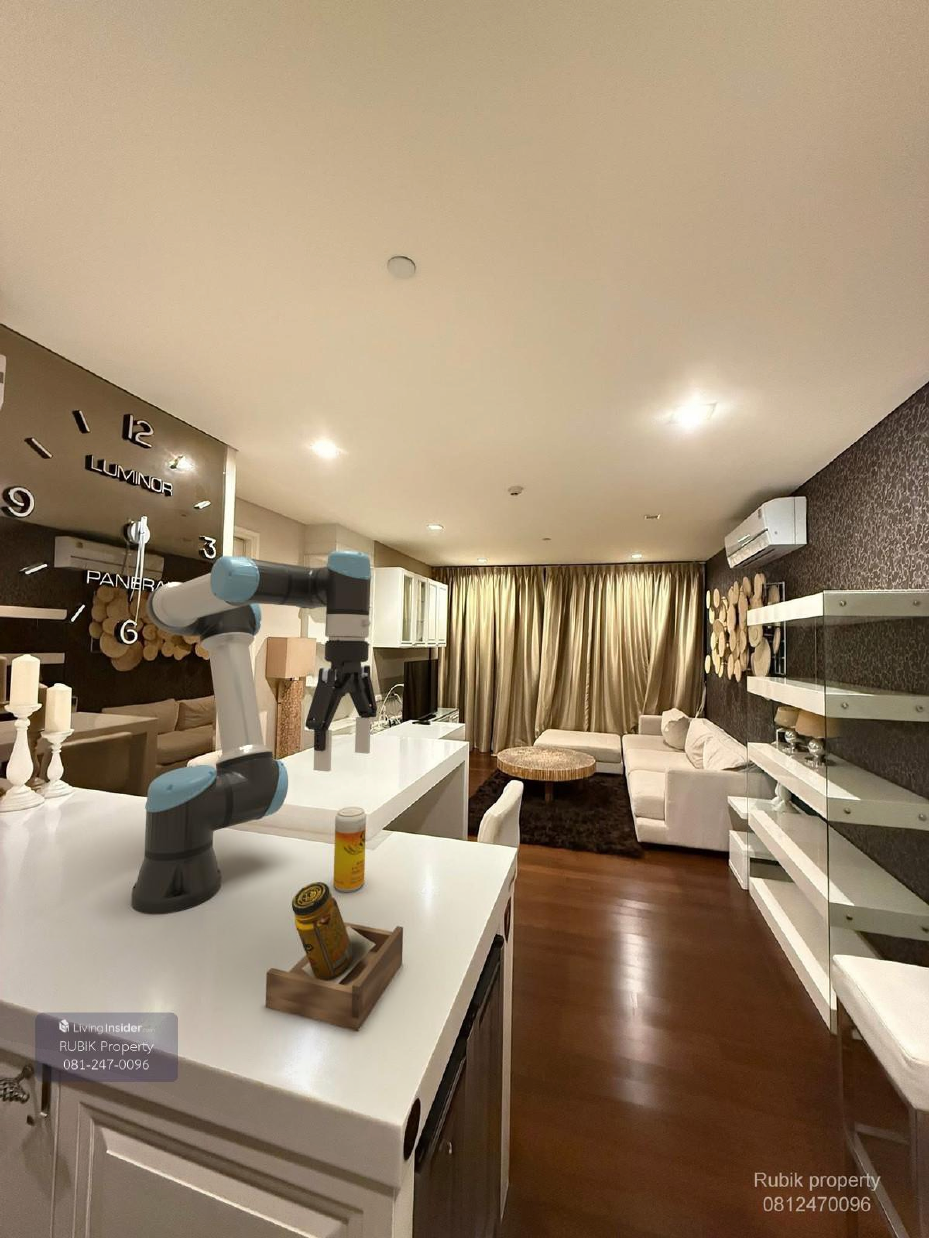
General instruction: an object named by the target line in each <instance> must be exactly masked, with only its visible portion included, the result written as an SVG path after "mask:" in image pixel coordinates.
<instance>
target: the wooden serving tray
mask: <svg viewBox="0 0 929 1238" xmlns="http://www.w3.org/2000/svg"><path fill="white" fill-rule="evenodd" d="M343 922H344V925H345V927H347V926H349V927H351V928H352V929H353V930H355V931H356V932H358V933H359V934H360V935H362V936H363V937H365V938H366V939H368V940H369V941H371V942H373V943H374V944H376V945H375V946H374V947H373V948H372V949H370V951H369V952H368V953H367V954H366V955H365V956H364V957H363V958H362V959H361V960H360V961H359V962H358V963H357V964H356V966H355V967H354V968H353V969H352V970H351V971H350V972H349V973H348V974H347V975H346V976H345V977H344V978H343V979H342V980H341V981H340V983H338V984H337V983H333V982H329V981H324V980H320V979H316V978H312V977H310V976H309V975H308V974H307V973H306V972H305V971H303V970H302V968H303V967H304V966H306V965H307V964H308V963H309V961H308V958H307V955H306V954H304V955H303V956H302V958H301V959H300V960H299V961H298V962H297V963H296V964H295V965H294V966H293V967H291V969H289V971H286V970H282V969H279V968H274V967H271V968H269V969H268V970H267V971H266V976H265V977H266V979H265V980H266V984H265V985H266V986H265V1005H264V1006H265V1008H270V1009H273V1010H277V1011H281V1012H284V1013H288V1014H292V1015H295V1016H296V1015H297V1016H299V1017H303V1018H306V1019H307V1018H308V1019H311V1020H314V1021H317V1022H322V1023H325V1024H329V1025H330V1024H331V1025H334V1026H338V1027H341V1028H345V1029H348V1030H352V1031H356V1032H359V1031H360V1029H361V1027H362V1026H363V1025H364V1024H365V1021H366V1020H367V1018H368V1017H369V1015H370V1014H371V1012H372V1010H373V1009H374V1007H376V1004H377V1003H378V1002H379V1000H380V998H381V997H382V995H383V993H384V992H385V990H386V989H387V987H388V986H389V985H390V983H391V982H392V980H393V979H394V976H395V975H396V974H397V973H398V971H399V969H400V967H401V966H402V964H403V951H404V950H403V947H404V946H403V945H404V943H403V942H404V939H403V938H404V926H398V925H397V926H396V927H395V928H394V929H393V931H391V930H386V929H381V928H376V927H371V926H365V925H361V924H356V923H355V924H354V923H351V922H350V923H349V922H346V921H343Z"/></svg>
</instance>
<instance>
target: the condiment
mask: <svg viewBox="0 0 929 1238" xmlns="http://www.w3.org/2000/svg"><path fill="white" fill-rule="evenodd" d="M337 901H338V900H336V898H335V897H333V894H332V893H331V891H330V887H329V886H328V885H327V884H326V883H324V882H321V881H317V882H312V883H309V884H307V885H305V886H304V887H302V888H301V889H300V890H298V892H296V894H295V896H294V897H293V899H292V901H291V909H292V911H293V913H294V918H295V919H294V924H295V927H296V931H297V933H298V935H299V938H300V941H301V944H302V947H303V949H304V950H303V951H304V952H305V955H307V958H308V961H309V963H308V964H307V965H306V966H304V967H303V968H302V970H303V971H305V972H306V973H307V974H308V975H309V976H310V977H312V978H316V979H320V980H324V981H329V982H333V983H337V984H338V983H340V981H341V980H342V979H343V978H344V977H345V976H346V975H347V974H348V973H349V972H350V971H351V970H352V969H353V968H354V967H355V966H356V964H357V963H358V962H359V961H360V960H361V959H362V958H363V957H364V956H365V955H366V954H367V953H368V952H369V951H370V949H372V948H373V947H374V946H375V945H376V944H374V943H373V942H371V941H369V940H368V939H366V938H365V937H363V936H362V935H360V934H359V933H358V932H356V931H355V930H353V929H352V928H351V927H349V926H347V927H345V925H344V922H345V921H344V919H343V916H342V914H341V911H340V908H339V905H338V902H337Z"/></svg>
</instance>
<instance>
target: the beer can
mask: <svg viewBox="0 0 929 1238" xmlns="http://www.w3.org/2000/svg"><path fill="white" fill-rule="evenodd" d="M334 824H335V825H334V849H333V850H334V851H333V852H334V853H333V855H334V857H333V859H334V860H333V886H334V887H335V888H336V890H337V891H339V892H341V893H350V892H355V891H357V890H358V889H361V887H362V885H363V884H364V883H365V869H366V868H365V867H366V866H365V864H366V863H365V862H366V861H365V860H366V832H367V831H366V825H367V814H366V812H365V809H364V808H363V807H360V806H347V807H346V806H345V807H342V808H340V809H338V810H337V813H336V816H335V820H334Z"/></svg>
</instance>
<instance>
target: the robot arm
mask: <svg viewBox="0 0 929 1238" xmlns="http://www.w3.org/2000/svg"><path fill="white" fill-rule="evenodd" d="M371 569H372V568H371V559H370V557H369V556H368V555H367V554H366V553H363V552H359V551H355V550H336V551H332V552H330V553H329V554H328V555H327V563H326V566H323V567H311V566H304V565H296V564H289V563H282V562H276V561H268V560H262V559H255V558H249V557H246V556H241V555H240V556H231V555H223V556H221V557H219V558H218V559H217V560H216V562H215V563H214V564H213V566H212V568H211V572H209V573H207V574H204V575H201V576H198V577H196V578H193V579H191V580H188V581H185V582H179V581H171V582H167V583H166V584H163V585H160V586H158V587H157V588H155V589H154V590H153V591H152V592H151V593H150V595H149V597H148V599H147V601H146V612H147V615H148V617H149V619H150V621H151V623H153V624H154V625H155V626H156V627H157V628H159V629H160V630H162V631H164V632H166V633H169V634H172V635H176V636H182V637H183V636H184V637H199V641H200V642H199V643H200V647H201V649H203V650H205V651H206V652H208V654H209V661H210V669H211V677H212V678H211V679H212V685H213V693H214V700H215V707H216V708H215V709H216V716H217V723H218V732H219V739H220V746H221V748H220V749H221V756H220V757H219V758H218V760H217V761H216V762H215V766H212V765H209V764H208V765H207V764H198V765H194V766H193V765H190V766H183V767H180V768H176V769H173V770H169V771H167V772H165V773H162V774H161V775H159V776H157V777H156V778H154V779H153V780H152V781H151V783H150V784H149V785H148V786H149V787H148V789H147V797H146V802H145V806H144V807H145V811H146V812H145V833H144V834H145V835H144V854H143V856H144V858H143V861H142V864H141V866H140V868H139V873H138V874H137V879H136V882H135V883H134V884H133V887H132V889H131V897H130V898H131V899H130V906H131V908H132V909H134V910H135V911H137V912H138V913H143V914H150V915H151V914H153V915H155V914H159V915H160V914H168V913H173V912H180V911H183V910H187V909H190V908H193V907H195V906H197V905H201V904H203V903H205V902H206V901H208V900H210V899H211V898H213V897H214V896H215V895H216V894H217V893H218V892H219V890H220V889H221V886H222V885H221V884H222V872H221V870H220V868H219V866H218V861H217V858H216V857H217V856H216V854H215V851H214V832H215V831H217V830H222V829H227V828H229V827H232V826H237V825H241V824H244V823H248V822H252V821H258V820H261V819H263V818H265V817H268V816H271V815H273V814H275V813H277V812H278V811H279V810H280V809H281V808H282V806H283V804H284V803H285V799H287V795H288V790H289V775H288V771H287V770H288V769H287V768H286V766H285V765H284V762H282V760H279V759H274V755H273V750H271V748H269V747H267V746H266V745H265V743H264V737H263V730H262V723H261V717H260V711H259V704H258V698H257V697H258V696H257V692H256V691H257V690H256V686H255V678H254V672H253V671H254V670H253V666H252V665H253V664H252V657H251V652H250V646H251V645H252V644H253V642H254V641H255V636H256V635H258V633H259V632H260V629H261V627H262V626H261V625H262V623H261V622H262V611H261V607H260V605H275V606H286V607H287V606H290V607H296V608H301V609H310V610H312V609H313V610H314V609H318V608H326V610H325V634H324V636H325V637H326V638H328V640H326V641H325V642H324V660H325V661H326V662H328V663H330V668H329V667H328V668H327V667H326V668H324V667H320V668H319V669H318V675H317V677H318V678H317V683H316V687H315V690H314V693H313V696H312V699H311V703H310V707H309V710H308V713H307V715H306V716H307V717H306V720H305V725H304V726H305V728H307V729H308V730H311V731H314V732H313V771H318V772H327V773H328V772H330V771H331V770H332V743H333V742H332V737H333V736H332V735H333V729H329V728H330V725H331V724H332V721H333V719H334V717H335V715H336V712H337V711H338V708H339V705H340V703H341V700H342V699H343V698H344V697H345V696H346V695H347V694H349V696H350V699H351V700H352V703H353V704H354V707H355V710H356V712H357V714H358V716H357V717H355V733H354V735H355V736H354V737H355V739H354V742H355V743H354V753H356V754H357V753H358V754H370V753H371V724H372V723H371V722H372V721H371V720H372V719H371V718H376V717H377V712H378V706H377V702H376V695H375V692H374V686H373V683H372V682H373V681H372V677H371V675H372V673H371V666H370V665H367V664H366V665H363V664H362V663H367V662H368V660H369V648H370V646H369V644H370V643H369V641H367V640H366V639H367V638H369V635H370V626H371V621H370V607H371V579H372V574H371Z"/></svg>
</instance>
